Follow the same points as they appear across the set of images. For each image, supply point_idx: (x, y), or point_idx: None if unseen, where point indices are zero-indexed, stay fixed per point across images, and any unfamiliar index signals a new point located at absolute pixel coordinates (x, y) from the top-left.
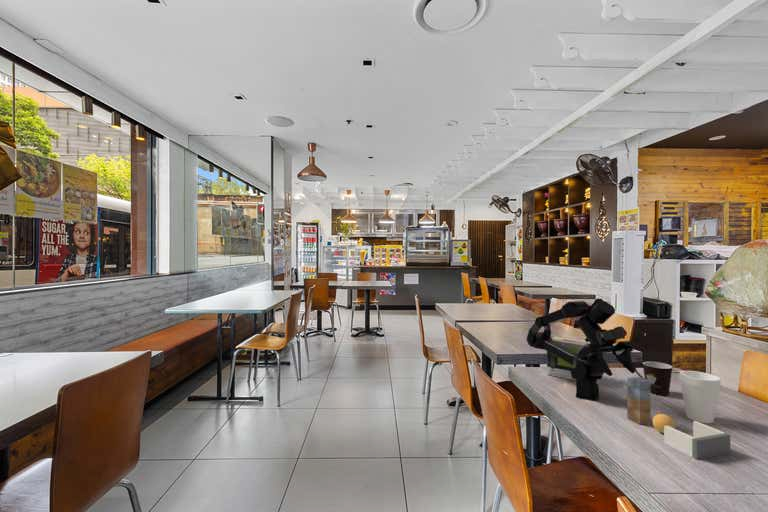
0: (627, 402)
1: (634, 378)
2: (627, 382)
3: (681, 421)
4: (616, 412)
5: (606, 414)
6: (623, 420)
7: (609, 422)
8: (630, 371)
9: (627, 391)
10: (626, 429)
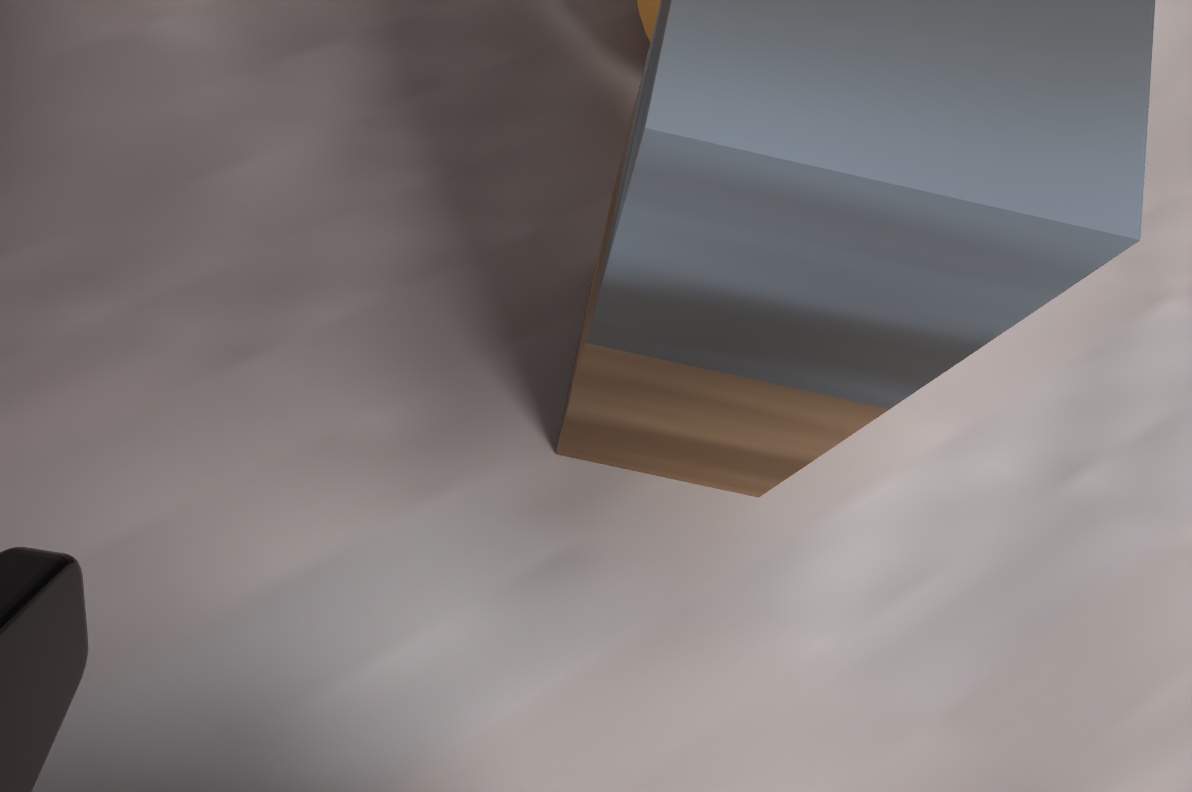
0: (836, 444)
1: (995, 66)
2: (1050, 295)
3: (127, 94)
4: (677, 738)
5: (906, 761)
6: (864, 495)
7: (1117, 549)
8: (43, 748)
9: (933, 377)
10: (1088, 312)
